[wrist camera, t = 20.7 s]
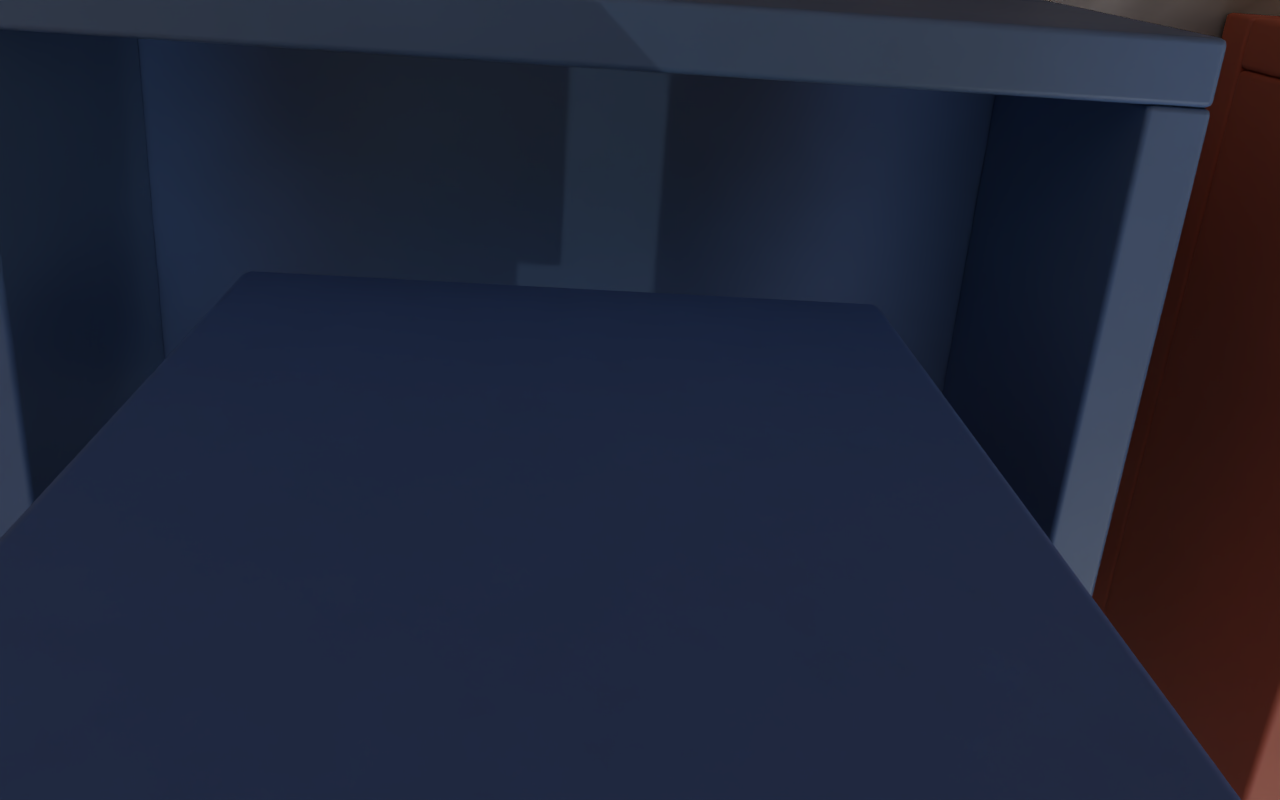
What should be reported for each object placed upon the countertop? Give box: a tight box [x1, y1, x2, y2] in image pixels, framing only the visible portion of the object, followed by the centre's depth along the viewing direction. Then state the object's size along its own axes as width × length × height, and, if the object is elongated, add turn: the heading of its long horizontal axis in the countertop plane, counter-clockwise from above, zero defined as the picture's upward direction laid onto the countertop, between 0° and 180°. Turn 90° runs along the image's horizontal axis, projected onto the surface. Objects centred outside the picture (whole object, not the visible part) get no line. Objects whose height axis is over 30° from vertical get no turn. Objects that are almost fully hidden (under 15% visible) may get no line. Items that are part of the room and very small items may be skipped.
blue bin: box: [0, 0, 1226, 596], centre depth 14 cm, size 11×11×5 cm
